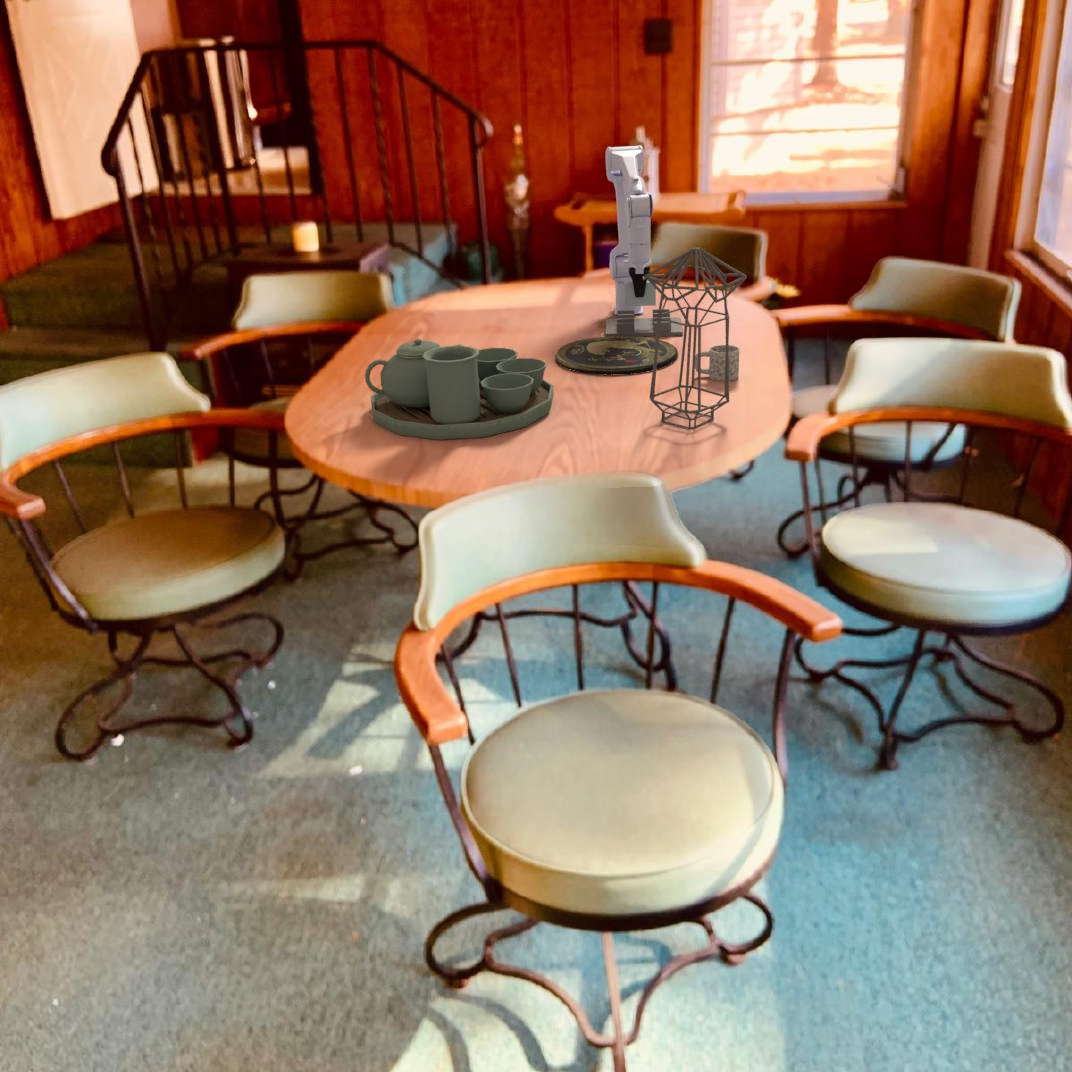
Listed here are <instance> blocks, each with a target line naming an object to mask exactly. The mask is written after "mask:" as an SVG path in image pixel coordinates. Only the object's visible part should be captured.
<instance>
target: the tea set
mask: <svg viewBox="0 0 1072 1072" xmlns="http://www.w3.org/2000/svg"><path fill="white" fill-rule="evenodd" d="M518 353H519V352H518V351H517V350H514V349H511V348H506V347H488V348H481V349H478V348H475V347H473V346H469V345H464V344H463V345H462V344H461V343H459V344H453V345H445V346H441V345H440V344H439V343H437V342H434V341H431V340H422V339H420V338H416V339H415V340H413V341H407V342H405V343H402V344H400V345H399V346H398V348H397V349H396V350H395V354H394V355H392V356H391V357H390V358H388V360H387V359H381V358H380V359H375V360H373V361H372V362H371V363H369V365H367V368H366V370H365V374H364V378H365V383H366V385H367V386H368V388H369V390H371V391H372V392H373V393H374V394H371V396H370V401H371V413H372V419H373V421H374V423H375V424H376V425H378V426H381V427H383V428H384V429H386V430H388V431H390V432H391V433H392V432H393V433H394V434H397V436H398V435H399V436H400V435H401V436H408V437H414V438H423V439H432V440H439V441H440V440H454V439H456V440H457V439H471V438H472V439H473V438H485V437H490V436H495V435H498V434H502V433H506V432H507V433H508V432H511V431H514V430H518V429H523V428H526V427H528V426H530V425H531V424H533V423H534V422H536V421H538V420H540V419H541V418H543V417H545V416H547V415H548V414H549V413H550V411H551V409H552V404H553V400H554V399H553V398H554V394H555V393H554V385H553V384H552V383H550V382H549V381H547V380H546V379H544V375H545V371H546V368H547V364H548V363H547V362H546V361H544V360H542V359H538V358H532V357H519V358H517V357H518V355H519V354H518ZM380 365H382V366H383V367H382V369H381V371H380V375H379V376H380V386H381V388H377V387H376V386H375V385H374V384H373V383H372V381H371V378H370V375H371V372H372V370H373V369H374V368H375V367H376V366H380Z"/></svg>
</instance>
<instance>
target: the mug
mask: <svg viewBox="0 0 1072 1072" xmlns="http://www.w3.org/2000/svg"><path fill="white" fill-rule="evenodd" d="M725 355H726V344H717V345H713V346H711V347H709V350H705V351H701V358H702V357H706V358H709V360H708V361H709V362H708V363H709V364H708V365H709V367H708V368H701V374H704V375H708V378H709V380H711V381H714V382H720V383H722V382H723V383H725ZM739 369H740V348H739V347H738V346H736V345H732V344H731V345H729V382H734V381H736V380H738V379H739V376H740V375H739V374H740V372H739ZM695 372H697V373H698V352H696V354H695Z"/></svg>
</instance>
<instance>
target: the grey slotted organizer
mask: <svg viewBox="0 0 1072 1072" xmlns="http://www.w3.org/2000/svg"><path fill="white" fill-rule="evenodd" d="M658 311H659V308H654V309H652V317H636V318H635V314H634V310H617V315H616V316H617V318H607V319H606V321H605V335H604V337H605V336H638V337H644V336H652V337H656V333H657V317H658ZM661 311H662V308H661ZM668 311H670V308H664V309H663V312H662V313H665V312H668ZM662 318H664V319H668V320H672V321H675V322H679V323H682V319H681V317H680V316H678V317H677V316H674V317H673V316H671V313H668V314H665V315H662ZM675 335H679V337H680V336H681V335H683V336H684V329H683V325H679V324H676V323H672V322H668V321H664V320H661V328H660V336H659V337H676V336H675Z"/></svg>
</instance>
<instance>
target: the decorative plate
mask: <svg viewBox="0 0 1072 1072" xmlns="http://www.w3.org/2000/svg"><path fill="white" fill-rule="evenodd" d="M655 346H656V338H653V337H638V336H605V335H604V336H599V337H598V336H595V337H590V338H584V339H579V340H576V341H572V342H569V343H567V344H565V345H563V346H562V347H560V348H559V349H558V350H557V351H556V355H555V362H556V361H557V362H556V363H557V364H558V365H559V366H560V365H561V366H560V367H562V368H564V369H567V370H569V369H571V370H570V371H572V370H575V371H574V372H576V371H579V372H578V373H581V372H583V373H582V374H588V373H589V374H588V375H598V374H607V375H606V376H614V375H613V374H628V375H634V374H633V373H638V374H643V373H642V372H644V373H648V372H647V371H650V372H653V371H652V370H653V364H654V356H655ZM678 357H679V352H678V349H677V347H676V346H674V345H673V344H672V343H670V342H668V341H664V340H662V339H659V345H658V355H657V368H656V369H658V370H660V368H661V369H663V367H664V368H666V367H668V365H669V366H670V365H672V364H673V362H674V361H675V362H676V361H677V360H678ZM675 362H674V363H675ZM671 363H672V364H671ZM665 366H666V367H665ZM631 373H632V374H631ZM611 374H612V375H611Z"/></svg>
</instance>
